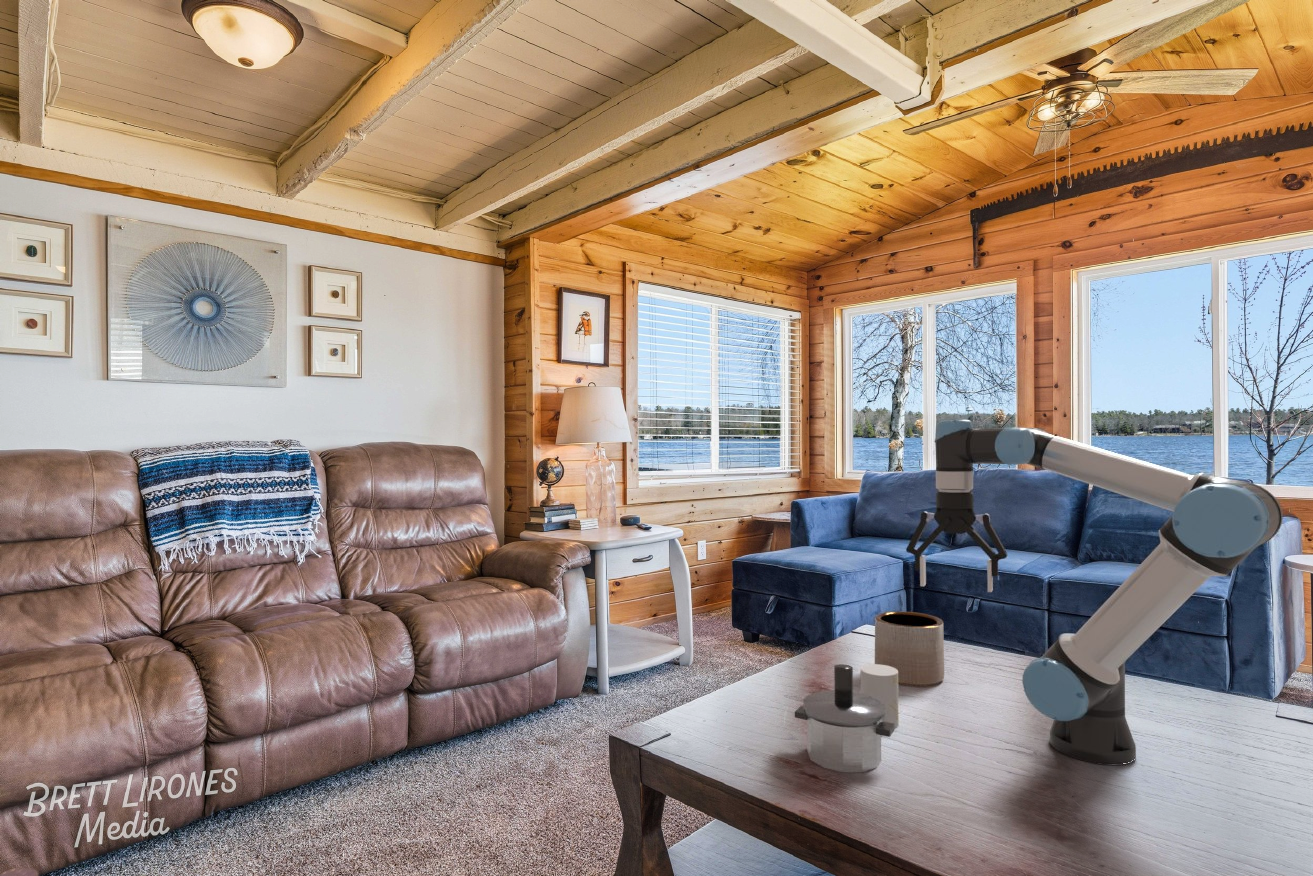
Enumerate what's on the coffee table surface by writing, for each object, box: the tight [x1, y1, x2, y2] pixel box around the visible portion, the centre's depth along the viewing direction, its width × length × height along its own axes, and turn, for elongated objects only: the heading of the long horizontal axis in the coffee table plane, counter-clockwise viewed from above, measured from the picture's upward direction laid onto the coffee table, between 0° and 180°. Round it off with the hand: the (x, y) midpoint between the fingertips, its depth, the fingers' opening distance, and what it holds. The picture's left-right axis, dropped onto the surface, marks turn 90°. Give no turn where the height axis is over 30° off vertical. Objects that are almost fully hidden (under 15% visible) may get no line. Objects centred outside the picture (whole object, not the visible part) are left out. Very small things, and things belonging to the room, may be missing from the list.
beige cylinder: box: [860, 663, 900, 729], centre depth 161 cm, size 8×8×12 cm
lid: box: [802, 663, 885, 728], centre depth 144 cm, size 16×16×9 cm
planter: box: [874, 611, 945, 687], centre depth 192 cm, size 18×18×16 cm
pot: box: [794, 705, 895, 773], centre depth 144 cm, size 19×14×9 cm
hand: (955, 588), depth 155 cm, fingers open, 13 cm apart
